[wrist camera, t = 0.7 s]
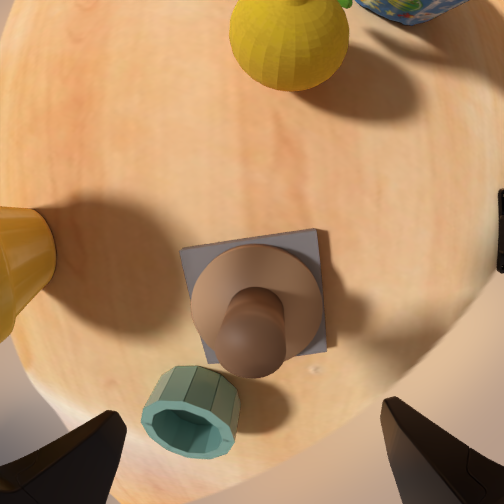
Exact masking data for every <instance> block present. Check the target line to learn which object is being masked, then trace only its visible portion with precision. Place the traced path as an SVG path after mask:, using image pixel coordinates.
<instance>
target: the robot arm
mask: <svg viewBox="0 0 504 504" xmlns="http://www.w3.org/2000/svg"><path fill="white" fill-rule="evenodd" d="M503 194H504V189H500V190H499V192H498V207H499V238H498V258H497V271H498V272H500V273H504V197H503ZM380 420H381V426H382V430H383V435H384V440H385V444H386V450H387V455H388V459H389V462H390V466H391V468H392V472H393V475H394V477H395V481H396V484H397V487H398V490H399V493H400V496H401V499H402V503H403V504H504V466H502V465H500V464H498V463H496V462H494V461H492V460H490V459H488V458H486V457H485V456H483V455H481V454H480V453H478V452H477V451H475V450H474V449H472V448H469V446H467V445H466V444H464V443H463V442H461V441H459V440H458V439H457V438H455V437H454V436H452V435H451V434H449V433H448V432H447V431H445V430H444V429H442V428H441V427H439V426H438V425H436V424H435V423H433V422H432V421H430V420H429V419H428V418H426V417H425V416H423V415H422V414H421V413H419V412H417V411H416V410H415V409H413V408H412V407H411V406H409V405H408V404H406V403H405V402H403V401H402V400H401V399H399V398H398V397H396V396H394V397H390V398H386V399H384V400H383V403H382V410H381V415H380ZM126 433H127V427H126V425H125V423H124V422H123V420H122V418H121V416H120V415H119V413H118V412H116V411H112V410H106V411H105V412H103V413H101V414H100V415H98V416H96V417H95V418H93V419H91V420H90V421H88V422H86V423H84V424H83V425H81V426H79V427H78V428H76V429H74V430H72V431H71V432H69V433H67V434H65V435H64V436H62V437H60V438H58V439H57V440H55V441H53V442H51V443H49V444H47V445H46V446H44V447H42V448H40V449H39V450H37V451H34V452H33V453H31V454H29V455H27V456H24V457H22V458H20V459H18V460H15V461H13V462H10V463H8V464H5V465H2V466H0V504H106V501H107V498H108V495H109V492H110V489H111V486H112V483H113V480H114V477H115V474H116V471H117V468H118V465H119V462H120V458H121V454H122V450H123V445H124V441H125V437H126Z"/></svg>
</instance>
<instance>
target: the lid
mask: <svg viewBox="0 0 504 504" xmlns="http://www.w3.org/2000/svg"><path fill="white" fill-rule="evenodd" d="M322 312H323V305H322V297H321V294H320V290H319V287H318V285H317V282H316V280H315V278H314V276H313V274H312V273H311V271H310V270H309V268H308V267H307V266H306V265H305V264H304V263H303V262H302V261H301V260H300V259H299V258H298V257H296V256H295V255H293V254H292V253H290V252H288V251H286V250H284V249H282V248H279V247H276V246H273V245H267V244H256V243H255V244H245V245H240V246H236V247H234V248H231V249H228V250H227V251H225V252H223V253H221V254H220V255H218V256H217V257H215V258H214V259H213V260H212V261H211V262H210V263H209V264H208V266H207V267H206V268H205V269H204V271H203V272H202V273H201V274H200V276H199V278H198V279H197V281H196V283H195V286H194V288H193V292H192V297H191V313H192V318H193V321H194V324H195V327H196V329H197V331H198V333H199V335H200V336H201V338H202V339H203V340H204V341H205V343H206V344H207V345H208V346H209V347H210V348H211V349H212V350H214V351H215V354H216V357H217V359H218V361H219V363H220V364H221V365H222V366H223V367H224V368H225V369H226V370H227V371H229V372H230V373H232V374H234V375H236V376H239V377H243V378H251V379H252V378H261V377H265V376H268V375H270V374H272V373H273V372H275V371H276V370H277V369H279V367H280V366H281V365H282V363H283V362H284V361H286V360H289V359H290V358H292V357H294V356H296V355H297V354H299V353H300V352H301V351H302V350H304V349H305V348H306V347H307V346H308V345H309V343H310V342H311V341H312V340H313V338H314V336H315V335H316V333H317V331H318V329H319V326H320V323H321V319H322Z"/></svg>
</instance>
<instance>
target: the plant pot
mask: <svg viewBox="0 0 504 504" xmlns="http://www.w3.org/2000/svg"><path fill="white" fill-rule="evenodd" d="M55 265H56V250H55V243H54V239H53V236H52V233H51V231H50V228H49V226H48V224H47V223H46V221H45V220H44V218H43V217H42V216H41V215H40V214H39V213H38V212H36V211H34V210H32V209H28V208H15V207H2V206H0V343H1V342H2V341H3V340H5V339H6V338H7V337H8V336H9V335H10V334H11V332H12V330H13V328H14V324H15V319H16V317H17V315H18V314H19V313H20V312H21V311H22V310H23V309H24V308H25V306H26V305H27V304H28V303H29V302H30V301H31V300H32V299H33V298H34V297H35V296H36V295H37V293H38V292H39V291H40V290H41V289H42V288H43V287H44V286H45V285H46V284H47V283H48V282H49V281H50V280H51V278H52V276H53V274H54V270H55Z"/></svg>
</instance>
